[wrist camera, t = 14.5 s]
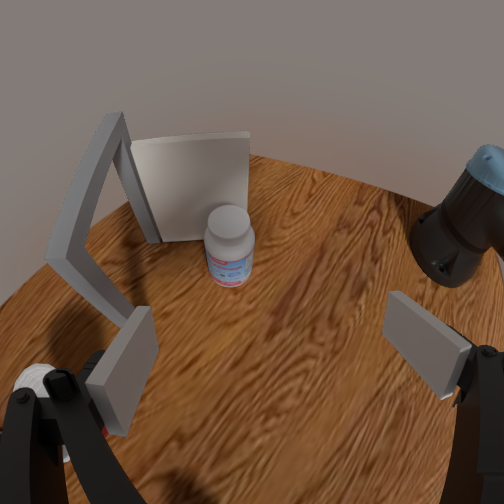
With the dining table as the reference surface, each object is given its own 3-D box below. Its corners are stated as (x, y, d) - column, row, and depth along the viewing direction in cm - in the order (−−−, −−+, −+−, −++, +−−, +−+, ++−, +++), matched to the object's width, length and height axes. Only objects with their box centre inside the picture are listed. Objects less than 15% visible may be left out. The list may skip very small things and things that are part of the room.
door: (163, 241, 41) (130, 147, 26) (164, 229, 43) (135, 134, 27) (246, 237, 42) (250, 137, 27) (244, 224, 44) (248, 125, 28)
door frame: (161, 232, 43) (122, 111, 24) (154, 343, 34) (65, 257, 15) (149, 233, 43) (105, 114, 24) (139, 342, 34) (43, 258, 15)
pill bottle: (202, 279, 39) (190, 233, 29) (219, 245, 42) (215, 193, 32) (242, 295, 38) (244, 251, 28) (258, 258, 41) (264, 208, 31)
